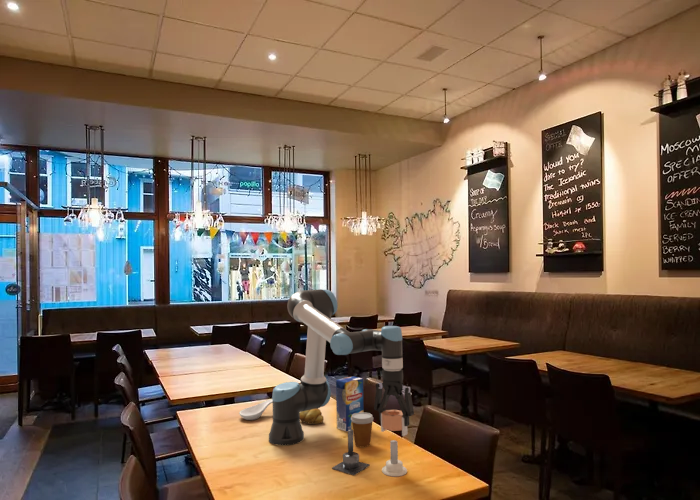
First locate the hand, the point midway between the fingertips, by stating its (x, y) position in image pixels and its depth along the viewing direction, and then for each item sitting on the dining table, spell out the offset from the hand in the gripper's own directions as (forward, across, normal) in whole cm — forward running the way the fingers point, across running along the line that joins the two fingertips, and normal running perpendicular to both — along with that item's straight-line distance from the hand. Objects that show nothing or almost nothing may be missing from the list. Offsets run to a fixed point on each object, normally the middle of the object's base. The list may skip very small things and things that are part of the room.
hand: (394, 432), depth 169 cm
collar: (-2, 0, 0) cm, 2 cm away
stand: (+14, -15, -6) cm, 21 cm away
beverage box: (+13, -41, +30) cm, 53 cm away
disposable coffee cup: (+14, -24, +15) cm, 32 cm away
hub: (+14, 0, 0) cm, 14 cm away
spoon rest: (+13, -89, +20) cm, 92 cm away
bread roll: (+13, -61, +26) cm, 68 cm away
